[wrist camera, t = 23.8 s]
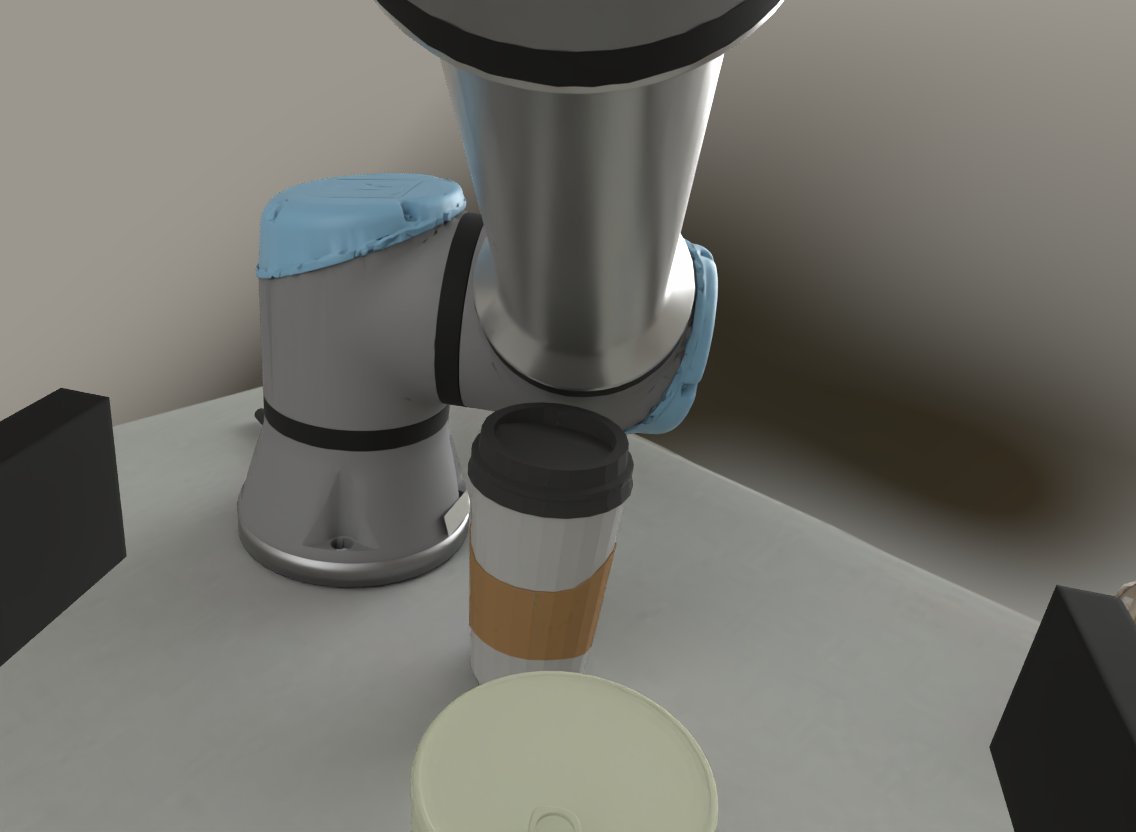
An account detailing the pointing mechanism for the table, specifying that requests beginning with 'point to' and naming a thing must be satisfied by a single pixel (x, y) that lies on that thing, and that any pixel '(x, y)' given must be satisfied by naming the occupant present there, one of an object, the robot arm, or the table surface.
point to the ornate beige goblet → (1129, 598)
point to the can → (559, 761)
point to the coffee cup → (542, 535)
